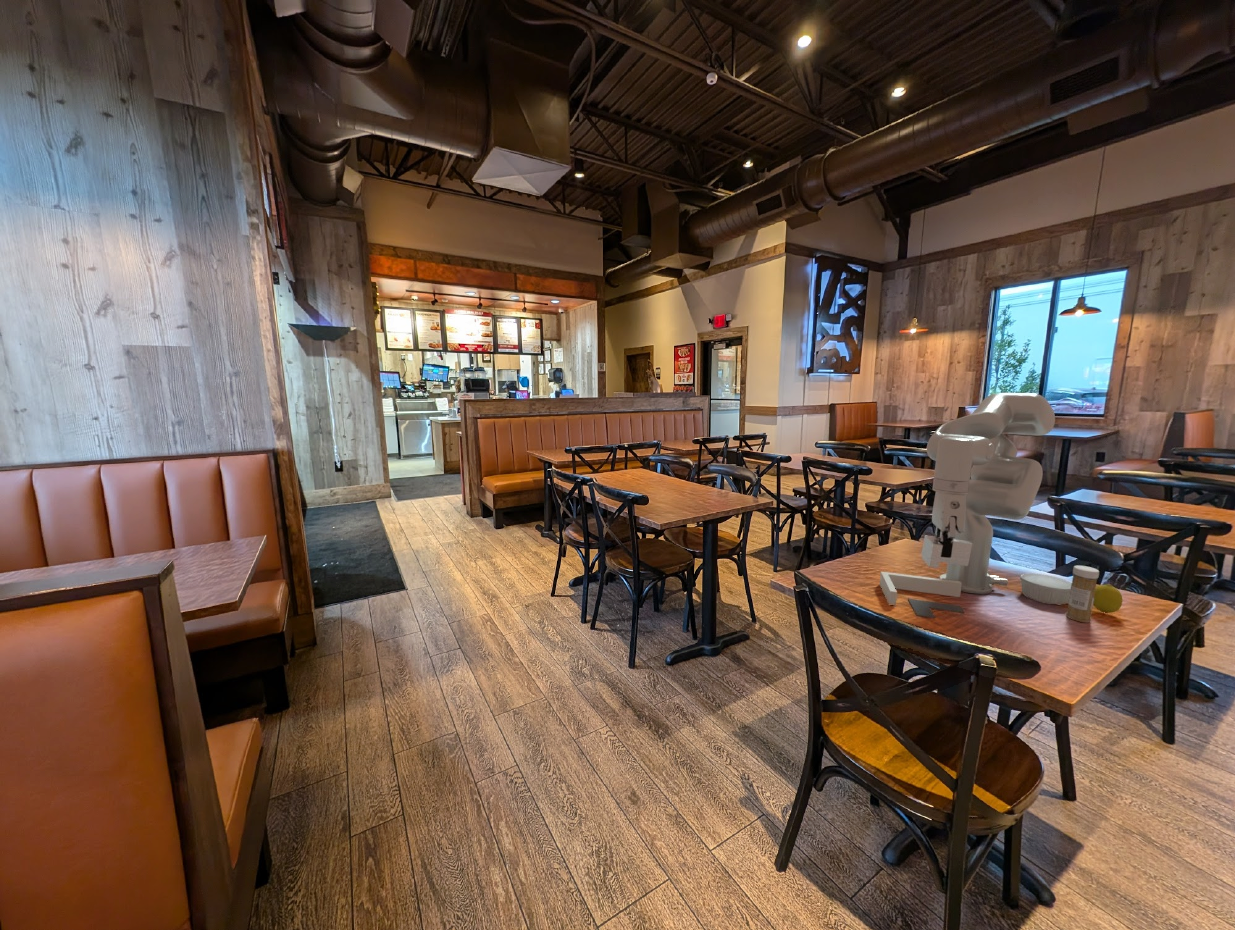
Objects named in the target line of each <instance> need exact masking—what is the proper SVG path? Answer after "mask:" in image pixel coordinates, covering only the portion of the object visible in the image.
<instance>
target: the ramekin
mask: <svg viewBox="0 0 1235 930" xmlns="http://www.w3.org/2000/svg"><path fill="white" fill-rule="evenodd" d="M1019 579H1020V582H1021V583H1020V586H1021V592H1022V594H1023V596H1025V598H1028V599H1030V600H1032V599H1033V601H1035V602H1038V601H1039V602H1038V603H1041V602H1042V603H1043V604H1045V603H1048V604H1047V605H1051V604H1064V605H1066V604H1068V602H1069V595H1070V590H1071V584H1072V582H1071V581H1068V580H1066V579H1063V578H1059V577H1056V576H1052V575H1048V574H1044V573H1043V574H1042V573H1030V572H1029V573H1023V574H1021V575H1020V577H1019Z"/></svg>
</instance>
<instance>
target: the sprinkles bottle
mask: <svg viewBox="0 0 1235 930" xmlns="http://www.w3.org/2000/svg"><path fill="white" fill-rule="evenodd" d="M1099 576H1100V571H1099V569H1097V568H1094V567H1090V566H1086V565H1074V566H1073V569H1072V580H1071V583H1072V584H1071V590H1070V595H1069V602H1068V603H1067V605H1068V606H1067V610H1066V611H1067V612H1066V613H1065V616H1066V617H1067V618H1069V619H1071V620H1073V621H1076V622H1079V623H1090V622H1091V620H1092V619H1091V616H1092V612H1093V611H1092V610H1093V607H1094V605H1093V602H1094V594H1095V588H1096V587H1097V580H1098V578H1099Z"/></svg>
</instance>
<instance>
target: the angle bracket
mask: <svg viewBox="0 0 1235 930" xmlns="http://www.w3.org/2000/svg"><path fill="white" fill-rule="evenodd" d="M939 540H940V537H935V535H934V536H933V535H925V534H924V537H923V543H922V548H921V555H920V557H921V558H922V560H923V561H924V562H925V564H926V565H927V566H928V567H929V568H933V569H934V568H935V569H940V568H939V567H940V563H945V564H948V563H951V564H957V565H964V566H968V564H969V559H970V554H971V548H972V543H971V542H970V541H963V540H956V539H954V541H953V547H952V554H951V558H946V557H941V552H942V547H943V545H942V544H941V543H940V542H939Z"/></svg>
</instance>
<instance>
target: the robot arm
mask: <svg viewBox="0 0 1235 930" xmlns="http://www.w3.org/2000/svg"><path fill="white" fill-rule="evenodd" d="M1053 409H1054V408H1053V407H1052V406H1051V405H1050V403H1049V401H1048V400H1047V399H1046V398H1045V397H1044V396H1043V395H1040V394H1038V393H1035V392H1034V393H1029V392H1028V393H1027V392H1024V393H1023V392H1016V393H1015V392H999V393H998V392H997V393H993V394H990V395H988V396H986V397H985V398H984V399H983V400H982V401H981V402H980V404H979V405H978V406H977V407H976V408H975V409H974V410H973V412H972V413H971V414H968V415H965V416H962V417H959V418H958V417H957V418H956V419H952V420H950V421H947V422H945V423H943V424H942V425H940V426H939V427H938V428H937V429H936V430H935V431H934V432H933V433H932V435H931V436H930V438H929V440H928V442H927V445H926V455H927V456H928V457H929V458H930V459H931V460H933V461H935V466H934V471H933V472H934V473H933V481H932V482H933V483H932V491H934V492H935V495H934V499H933V500H934V501H933V506H932V512H931V513H932V514H931V516H932V517H931V522H932V524H933V525H934V526H935V533H934V536H935V537H940V540H939V542H940V543H941V544H942V545H943V547H942V552H941V557H946V558H951V554H952V547H953V541H954V539H956V540H963V541H970V542H971V543H972V548H971V554H970V559H969V564H968V566H964V565H957V564H951V563H947V566H946V573H943V574H941V575H939V578H938V579H945V580H953V581H960V582H961V583H962V585H961V592H963V593H970V594H975V595H986V594H990V593H991V592H993V586H994V585H998V586H1004V587H1006V586H1008V579H1007V578H999V575H991V574H989V573H988V572H989V565H990V558H991V550H992V543H993V537H994V529H993V526H992V524H991V522H990V520H989V519H988V518H987V516H991V517H996V518H997V517H998V518H1001V519H1008V520H1012V521H1013V520H1016V521H1018V520H1022V519H1025V518H1026V517H1027V516H1028V514H1029V513H1030V510H1031V508H1032V506H1033V503H1034V501H1035V499H1036V496H1037V494H1038V491H1039V489H1040V488H1041V487H1040V486H1041V483H1042V481H1043V477H1044V476H1043V466H1042V465H1041V464H1040V462H1039V461H1037V460H1035V459H1031V458H1026V457H1017V455H1018V448H1017V446H1016V445H1015V444H1014V442H1013V441H1012V440H1011V439H1010V438H1009V437H1007V435H1022V436H1023V435H1024V436H1045V435H1048V434H1049V433H1050V432H1052V431H1053V428H1054V426H1055V422H1056V416H1055V411H1054V410H1053Z"/></svg>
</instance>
